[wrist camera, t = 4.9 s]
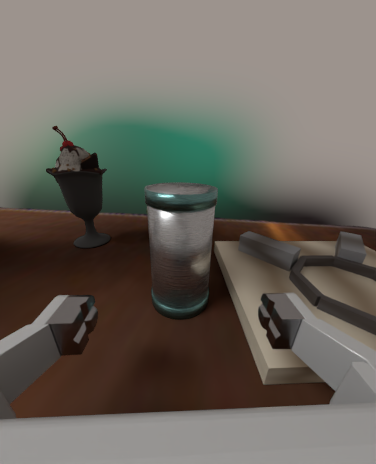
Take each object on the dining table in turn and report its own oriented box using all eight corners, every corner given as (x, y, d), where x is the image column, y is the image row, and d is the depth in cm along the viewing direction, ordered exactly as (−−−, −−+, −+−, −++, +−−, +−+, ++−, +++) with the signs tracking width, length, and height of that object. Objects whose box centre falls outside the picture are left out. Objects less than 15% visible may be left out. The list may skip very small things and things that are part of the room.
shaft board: (263, 384, 11) (276, 343, 9) (213, 250, 25) (216, 227, 24) (569, 371, 12) (620, 332, 10) (351, 250, 26) (360, 228, 25)
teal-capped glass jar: (143, 290, 18) (134, 185, 14) (188, 273, 20) (190, 181, 17) (168, 330, 14) (165, 198, 10) (220, 302, 16) (233, 190, 13)
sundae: (67, 236, 29) (40, 126, 23) (113, 229, 32) (99, 130, 26) (63, 255, 23) (26, 118, 17) (119, 245, 26) (102, 125, 20)
